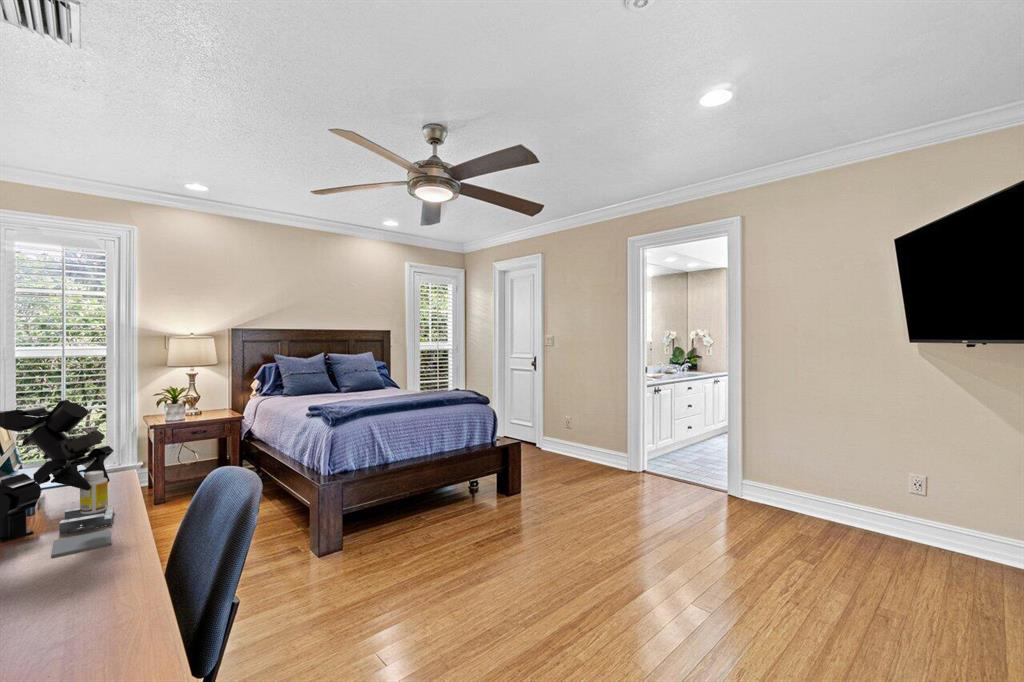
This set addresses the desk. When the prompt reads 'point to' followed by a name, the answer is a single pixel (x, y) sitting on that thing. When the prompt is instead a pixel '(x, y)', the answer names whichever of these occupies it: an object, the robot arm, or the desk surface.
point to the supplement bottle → (94, 493)
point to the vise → (84, 520)
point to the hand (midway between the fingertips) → (99, 485)
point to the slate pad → (81, 543)
